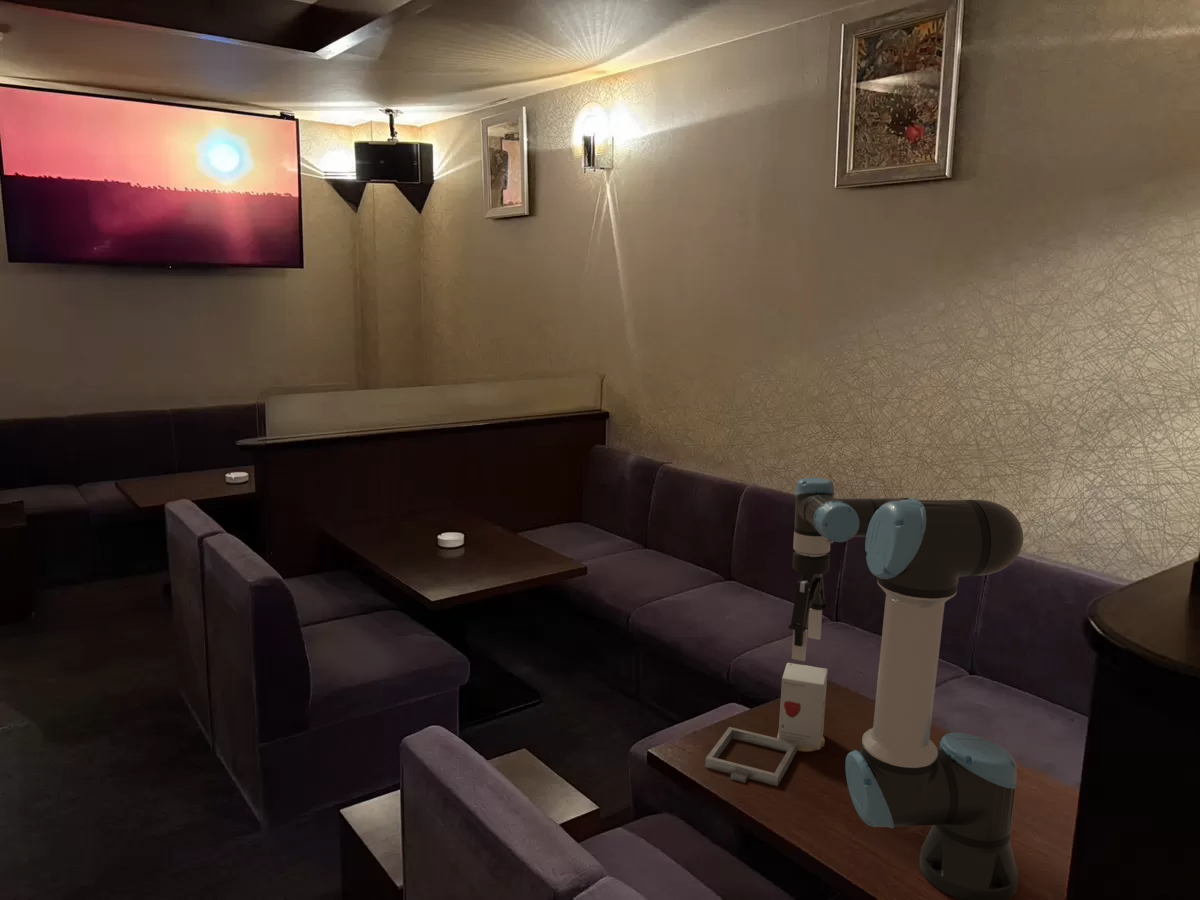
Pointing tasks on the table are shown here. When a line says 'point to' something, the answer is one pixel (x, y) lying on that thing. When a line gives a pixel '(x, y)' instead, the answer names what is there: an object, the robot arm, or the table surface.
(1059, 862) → the table surface
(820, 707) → the supplement box
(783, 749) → the grey frame with tab
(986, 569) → the robot arm
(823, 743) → the coaster
